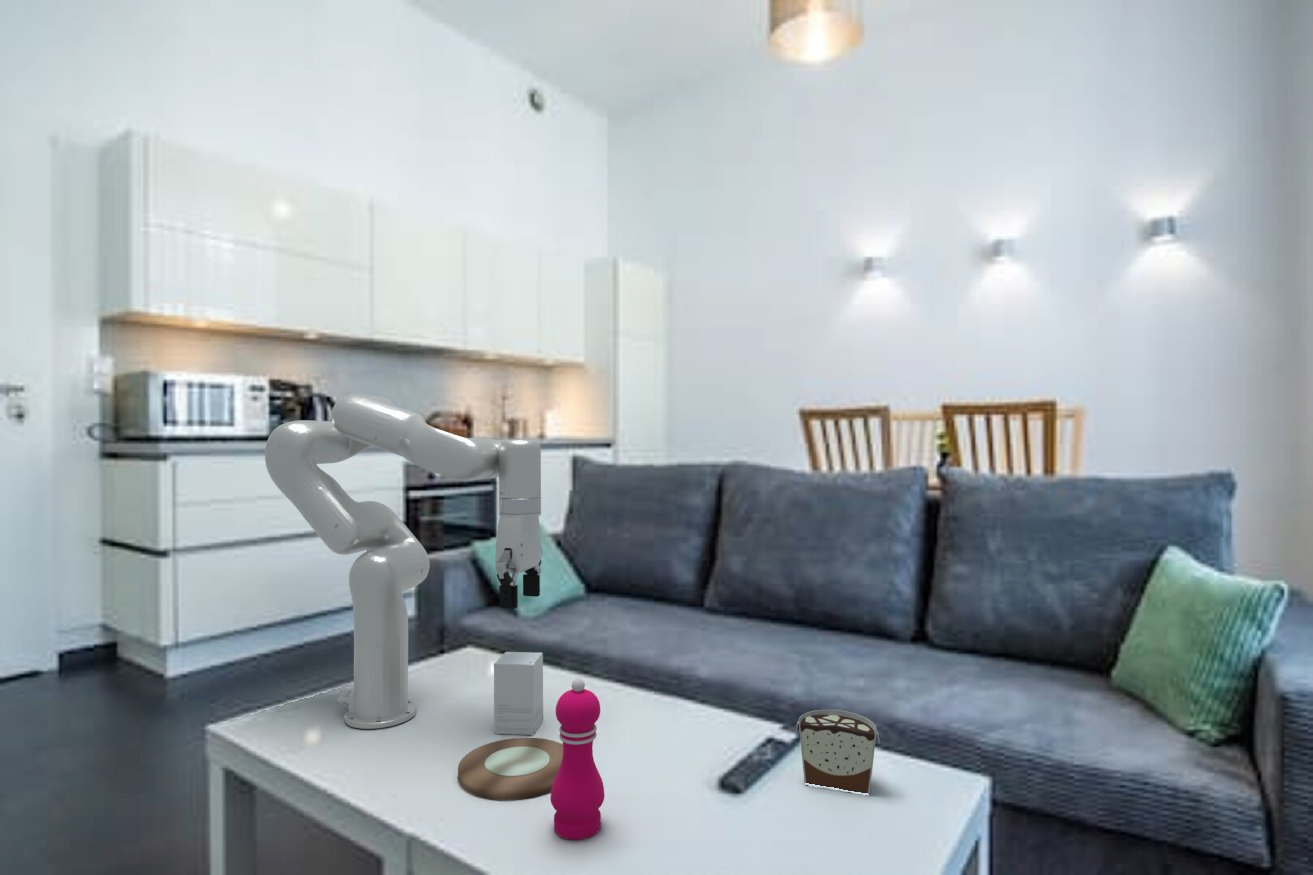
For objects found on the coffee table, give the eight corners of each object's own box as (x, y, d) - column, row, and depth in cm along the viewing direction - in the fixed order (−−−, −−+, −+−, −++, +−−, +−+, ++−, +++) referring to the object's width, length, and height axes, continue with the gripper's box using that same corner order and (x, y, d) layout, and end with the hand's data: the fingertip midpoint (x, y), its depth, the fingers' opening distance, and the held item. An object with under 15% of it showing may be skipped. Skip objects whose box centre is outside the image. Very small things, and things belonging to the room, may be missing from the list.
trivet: (435, 791, 105) (435, 780, 105) (491, 741, 123) (491, 731, 123) (549, 807, 101) (549, 795, 101) (590, 752, 119) (590, 742, 119)
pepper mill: (552, 814, 99) (552, 670, 99) (604, 812, 100) (604, 669, 100) (548, 843, 92) (549, 688, 92) (604, 841, 93) (605, 687, 93)
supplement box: (544, 719, 132) (544, 651, 132) (533, 736, 125) (533, 664, 125) (505, 718, 133) (505, 650, 133) (492, 734, 126) (493, 662, 126)
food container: (881, 778, 110) (881, 714, 110) (879, 797, 104) (880, 729, 104) (800, 766, 114) (800, 704, 114) (794, 783, 108) (795, 718, 108)
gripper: (521, 502, 138) (521, 590, 138) (478, 511, 122) (478, 612, 122) (557, 503, 137) (557, 592, 137) (519, 512, 120) (519, 614, 120)
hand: (520, 601), depth 129 cm, fingers open, 9 cm apart
